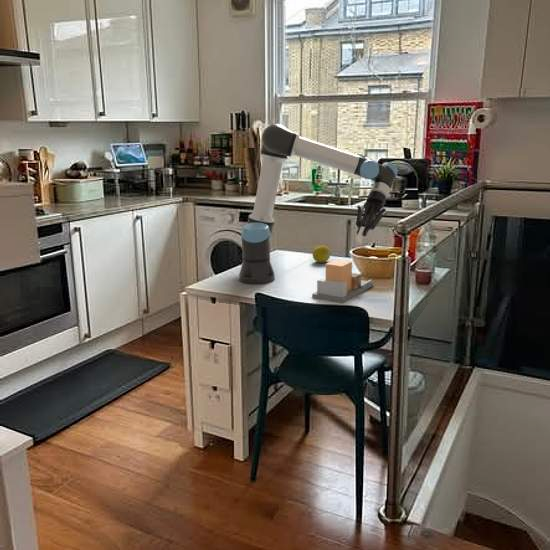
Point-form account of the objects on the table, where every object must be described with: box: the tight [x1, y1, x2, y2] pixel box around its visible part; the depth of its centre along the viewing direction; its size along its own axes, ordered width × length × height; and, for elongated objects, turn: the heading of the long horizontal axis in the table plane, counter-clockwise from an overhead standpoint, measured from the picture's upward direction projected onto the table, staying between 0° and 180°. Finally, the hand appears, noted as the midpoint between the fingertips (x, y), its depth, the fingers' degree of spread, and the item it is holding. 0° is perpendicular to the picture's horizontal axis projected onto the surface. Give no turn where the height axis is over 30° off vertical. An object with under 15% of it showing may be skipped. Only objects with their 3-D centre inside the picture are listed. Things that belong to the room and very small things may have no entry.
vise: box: [311, 278, 374, 304], centre depth 215 cm, size 26×13×6 cm, turn 145°
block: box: [325, 259, 353, 291], centre depth 211 cm, size 8×7×11 cm
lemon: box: [312, 245, 332, 264], centre depth 260 cm, size 11×8×8 cm
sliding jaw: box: [352, 272, 362, 289], centre depth 217 cm, size 5×10×5 cm, turn 55°
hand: (358, 241), depth 221 cm, fingers closed
